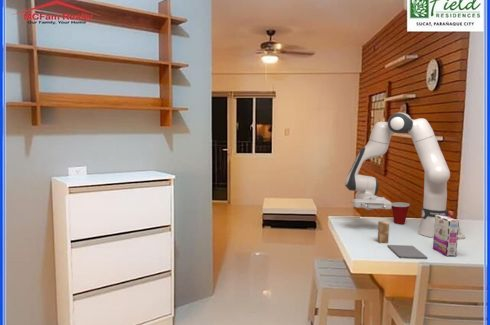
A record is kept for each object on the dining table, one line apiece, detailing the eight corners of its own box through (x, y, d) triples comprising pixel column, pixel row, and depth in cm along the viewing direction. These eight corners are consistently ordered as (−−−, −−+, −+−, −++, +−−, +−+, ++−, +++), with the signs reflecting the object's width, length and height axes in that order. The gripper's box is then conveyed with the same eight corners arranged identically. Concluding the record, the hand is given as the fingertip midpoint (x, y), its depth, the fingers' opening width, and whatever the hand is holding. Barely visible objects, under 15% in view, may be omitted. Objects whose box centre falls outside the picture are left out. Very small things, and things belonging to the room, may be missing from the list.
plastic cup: (386, 221, 232) (387, 201, 231) (403, 221, 233) (404, 201, 232) (394, 225, 221) (395, 205, 220) (412, 225, 222) (413, 205, 221)
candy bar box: (457, 256, 170) (459, 220, 168) (446, 256, 170) (449, 220, 168) (442, 248, 181) (444, 214, 180) (432, 248, 181) (434, 214, 179)
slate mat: (412, 247, 182) (412, 245, 182) (427, 259, 166) (427, 257, 166) (387, 246, 182) (387, 244, 182) (399, 258, 166) (399, 256, 166)
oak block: (385, 240, 191) (386, 221, 190) (388, 243, 187) (389, 223, 186) (377, 240, 191) (378, 221, 190) (379, 243, 187) (381, 223, 186)
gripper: (350, 195, 214) (356, 200, 200) (387, 197, 213) (395, 202, 199) (349, 206, 214) (355, 212, 201) (386, 208, 214) (394, 214, 200)
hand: (376, 207), depth 200 cm, fingers open, 8 cm apart
